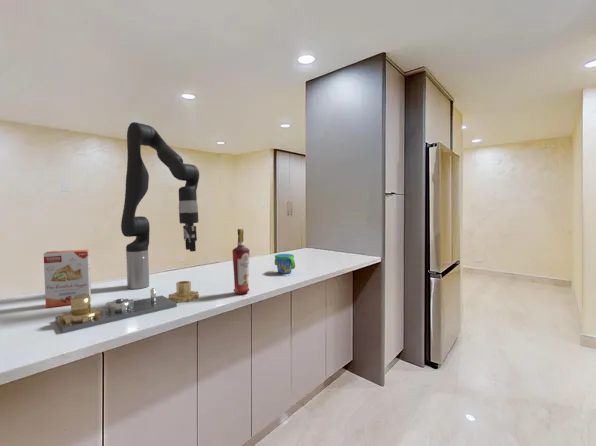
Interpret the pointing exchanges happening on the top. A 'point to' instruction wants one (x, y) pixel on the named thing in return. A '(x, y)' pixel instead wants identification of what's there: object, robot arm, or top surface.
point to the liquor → (241, 265)
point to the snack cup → (284, 263)
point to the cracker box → (66, 276)
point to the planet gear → (183, 292)
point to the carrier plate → (119, 316)
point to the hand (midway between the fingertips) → (190, 250)
